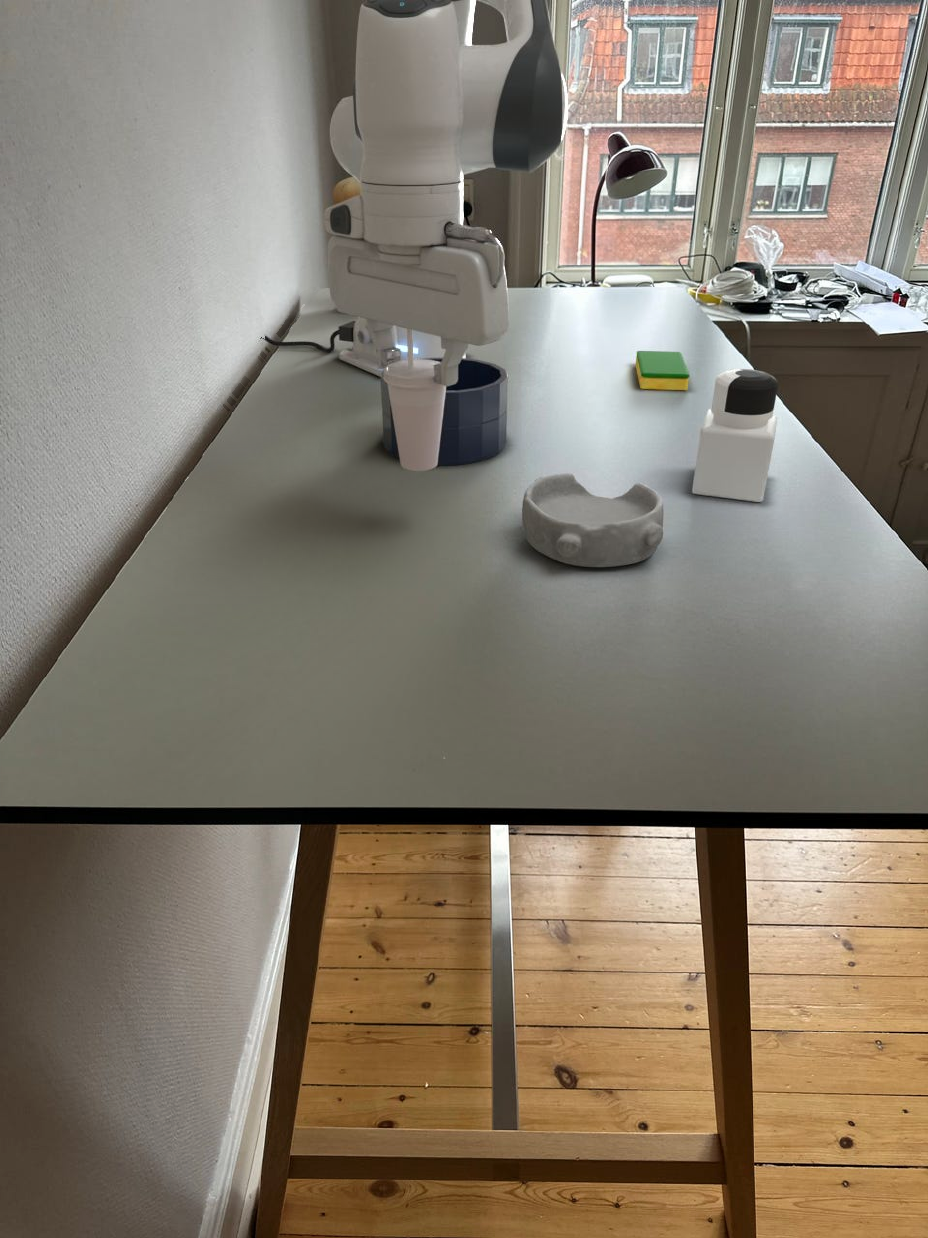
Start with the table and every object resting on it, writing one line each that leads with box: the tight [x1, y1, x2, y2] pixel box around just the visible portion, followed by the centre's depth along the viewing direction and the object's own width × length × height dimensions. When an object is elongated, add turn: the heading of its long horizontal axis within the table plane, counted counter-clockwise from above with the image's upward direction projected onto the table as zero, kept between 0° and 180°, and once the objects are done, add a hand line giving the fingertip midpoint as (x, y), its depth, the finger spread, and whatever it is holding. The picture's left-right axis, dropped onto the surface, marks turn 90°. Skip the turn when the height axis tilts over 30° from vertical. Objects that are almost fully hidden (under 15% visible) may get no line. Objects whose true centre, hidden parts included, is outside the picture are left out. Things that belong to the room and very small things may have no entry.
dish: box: [521, 472, 665, 568], centre depth 88 cm, size 14×14×5 cm
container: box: [691, 368, 779, 503], centre depth 99 cm, size 8×8×13 cm
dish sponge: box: [635, 350, 690, 391], centre depth 140 cm, size 7×14×2 cm, turn 174°
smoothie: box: [383, 329, 446, 472], centre depth 86 cm, size 6×6×14 cm
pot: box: [380, 358, 509, 466], centre depth 112 cm, size 16×16×9 cm
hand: (416, 375), depth 85 cm, fingers closed on smoothie, 6 cm apart
